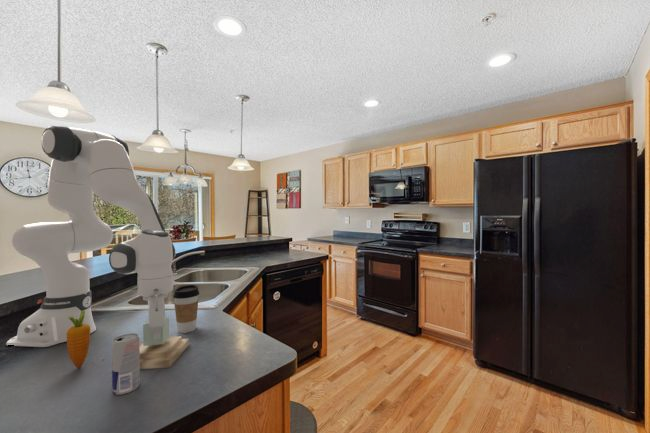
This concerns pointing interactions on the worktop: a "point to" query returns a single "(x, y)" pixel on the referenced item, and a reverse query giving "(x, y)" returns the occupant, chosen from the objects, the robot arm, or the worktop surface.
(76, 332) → the carrot
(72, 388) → the worktop surface
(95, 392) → the worktop surface
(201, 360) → the worktop surface
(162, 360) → the stand
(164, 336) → the block
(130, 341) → the energy drink
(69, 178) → the robot arm
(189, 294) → the coffee cup
